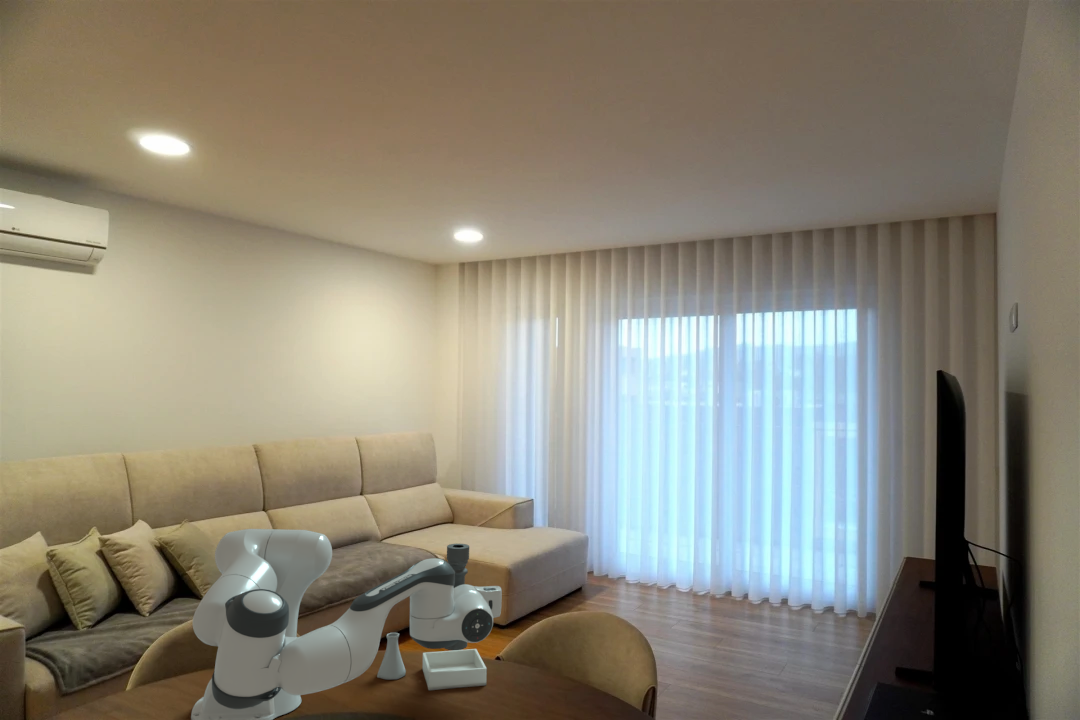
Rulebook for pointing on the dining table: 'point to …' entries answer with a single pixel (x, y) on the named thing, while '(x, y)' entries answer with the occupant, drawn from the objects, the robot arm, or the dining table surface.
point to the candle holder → (458, 574)
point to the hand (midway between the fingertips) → (456, 589)
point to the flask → (392, 660)
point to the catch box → (454, 669)
